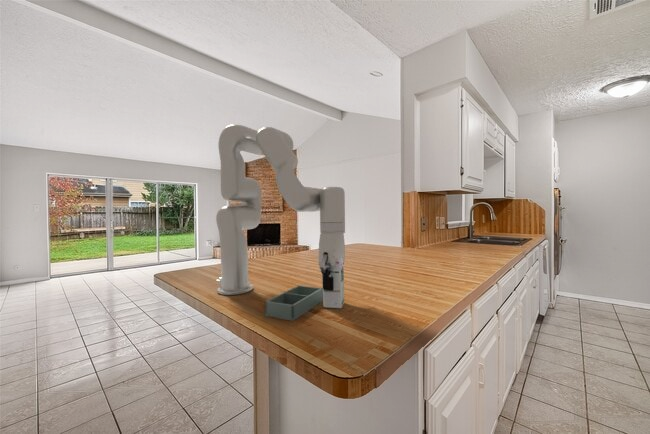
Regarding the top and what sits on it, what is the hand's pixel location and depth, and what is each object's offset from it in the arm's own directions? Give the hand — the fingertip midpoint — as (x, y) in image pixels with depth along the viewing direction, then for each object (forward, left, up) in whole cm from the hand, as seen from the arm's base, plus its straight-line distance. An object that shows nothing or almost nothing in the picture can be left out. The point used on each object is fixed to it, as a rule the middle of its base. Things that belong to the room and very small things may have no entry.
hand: (333, 286), depth 85 cm
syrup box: (0, 0, -6) cm, 6 cm away
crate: (-10, -6, -6) cm, 13 cm away
